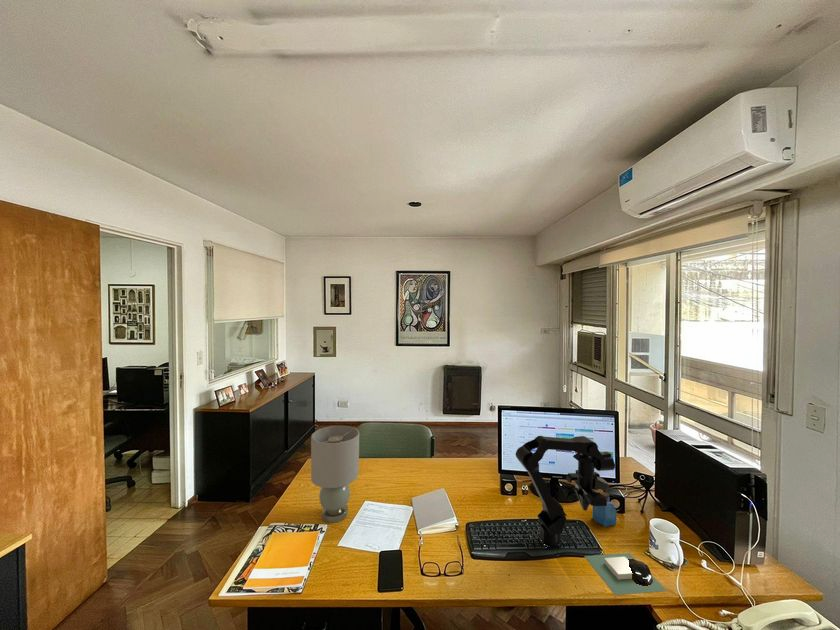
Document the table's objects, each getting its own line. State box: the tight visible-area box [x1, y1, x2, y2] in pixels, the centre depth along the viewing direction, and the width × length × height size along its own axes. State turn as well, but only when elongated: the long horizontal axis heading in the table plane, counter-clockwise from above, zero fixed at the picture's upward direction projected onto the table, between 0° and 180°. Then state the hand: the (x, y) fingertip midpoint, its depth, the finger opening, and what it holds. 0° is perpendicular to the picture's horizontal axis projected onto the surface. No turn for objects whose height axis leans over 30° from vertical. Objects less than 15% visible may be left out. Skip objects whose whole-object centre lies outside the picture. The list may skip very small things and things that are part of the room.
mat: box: [583, 552, 668, 596], centre depth 110 cm, size 18×16×1 cm
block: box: [604, 557, 633, 580], centre depth 110 cm, size 8×2×7 cm
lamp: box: [310, 425, 360, 524], centre depth 138 cm, size 20×20×35 cm
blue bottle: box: [592, 491, 617, 528], centre depth 137 cm, size 6×6×12 cm
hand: (584, 510), depth 126 cm, fingers closed
